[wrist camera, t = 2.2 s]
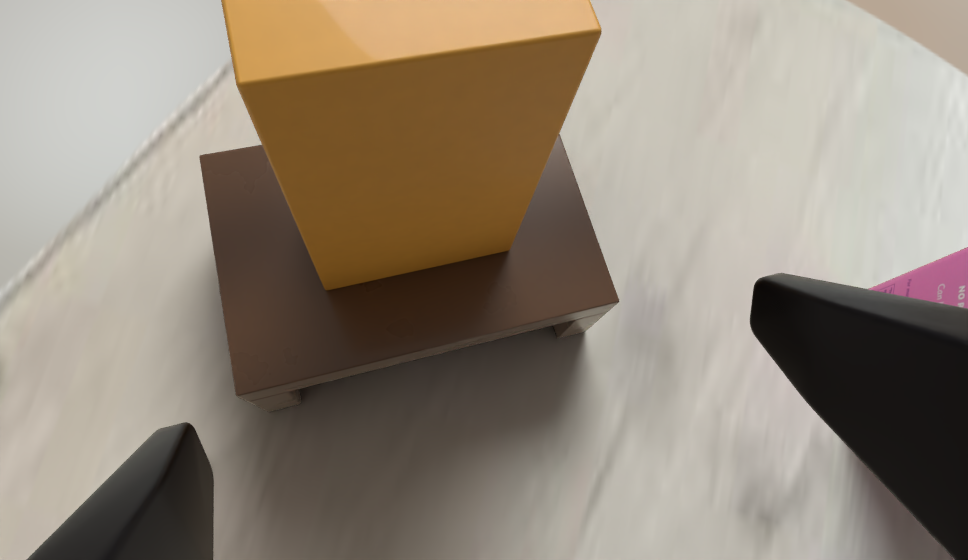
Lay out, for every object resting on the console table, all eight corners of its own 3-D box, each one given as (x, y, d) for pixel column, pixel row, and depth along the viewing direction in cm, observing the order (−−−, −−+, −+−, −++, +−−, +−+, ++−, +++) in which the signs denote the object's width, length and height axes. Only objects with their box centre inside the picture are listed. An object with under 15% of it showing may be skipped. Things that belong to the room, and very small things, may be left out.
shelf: (585, 331, 23) (620, 301, 19) (267, 412, 21) (235, 396, 17) (526, 153, 25) (546, 96, 22) (233, 208, 23) (198, 154, 19)
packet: (510, 251, 19) (604, 31, 10) (325, 291, 18) (235, 86, 9) (485, 171, 20) (551, -101, 11) (307, 205, 19) (208, -66, 10)
